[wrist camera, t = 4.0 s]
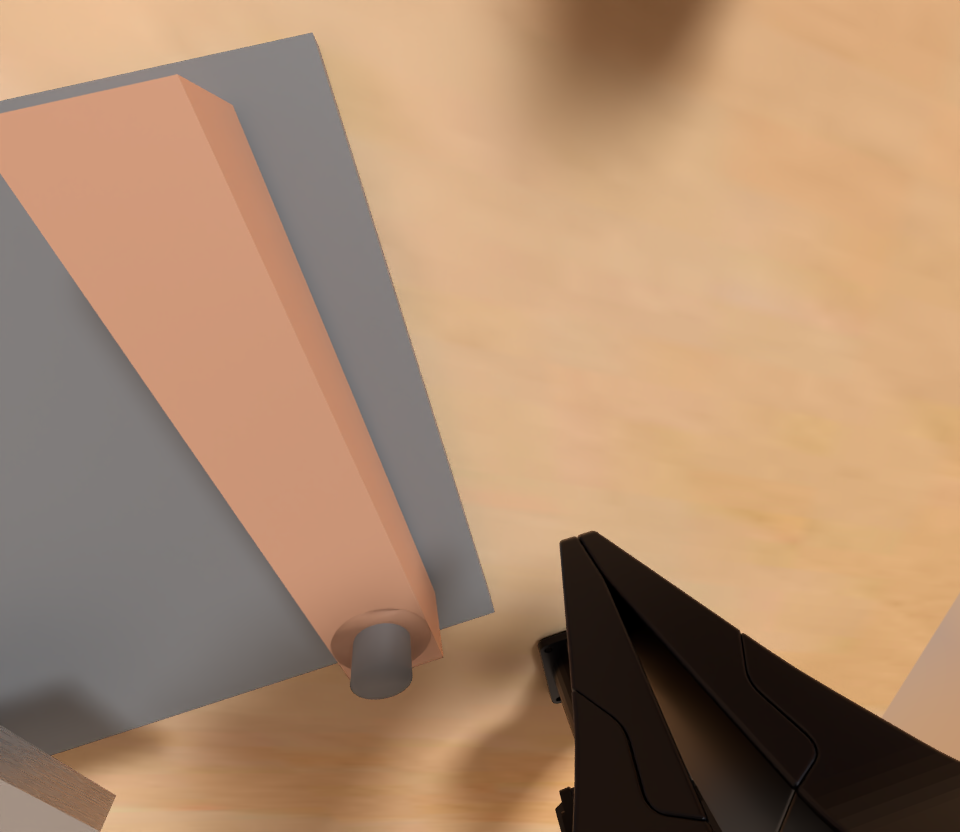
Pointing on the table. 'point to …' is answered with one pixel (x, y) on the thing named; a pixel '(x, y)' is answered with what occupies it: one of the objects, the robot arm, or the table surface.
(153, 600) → the board
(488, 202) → the table surface
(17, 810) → the keeper
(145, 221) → the link
